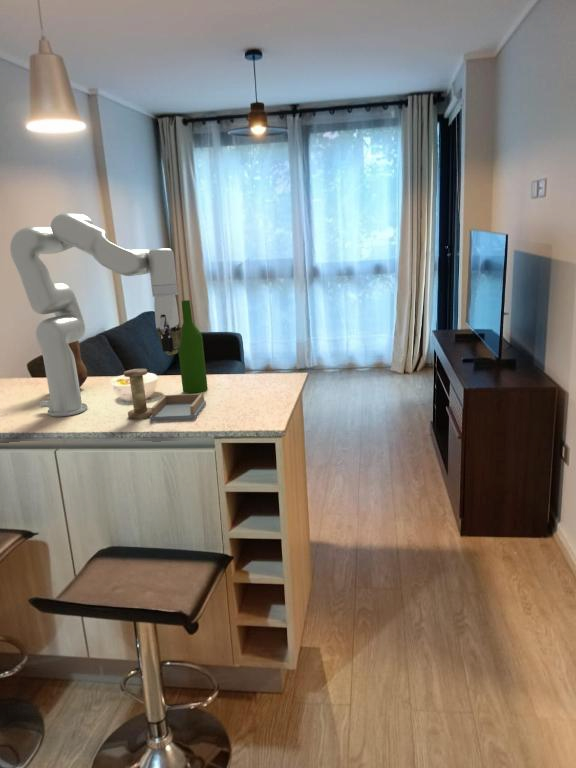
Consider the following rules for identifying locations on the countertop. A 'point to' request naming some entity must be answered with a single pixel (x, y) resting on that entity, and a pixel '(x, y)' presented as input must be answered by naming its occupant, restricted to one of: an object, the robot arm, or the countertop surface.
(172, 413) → the wooden tray
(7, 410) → the countertop surface
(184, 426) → the countertop surface
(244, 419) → the countertop surface
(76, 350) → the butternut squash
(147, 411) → the bobbin post
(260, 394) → the countertop surface
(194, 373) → the wine bottle
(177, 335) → the cup
